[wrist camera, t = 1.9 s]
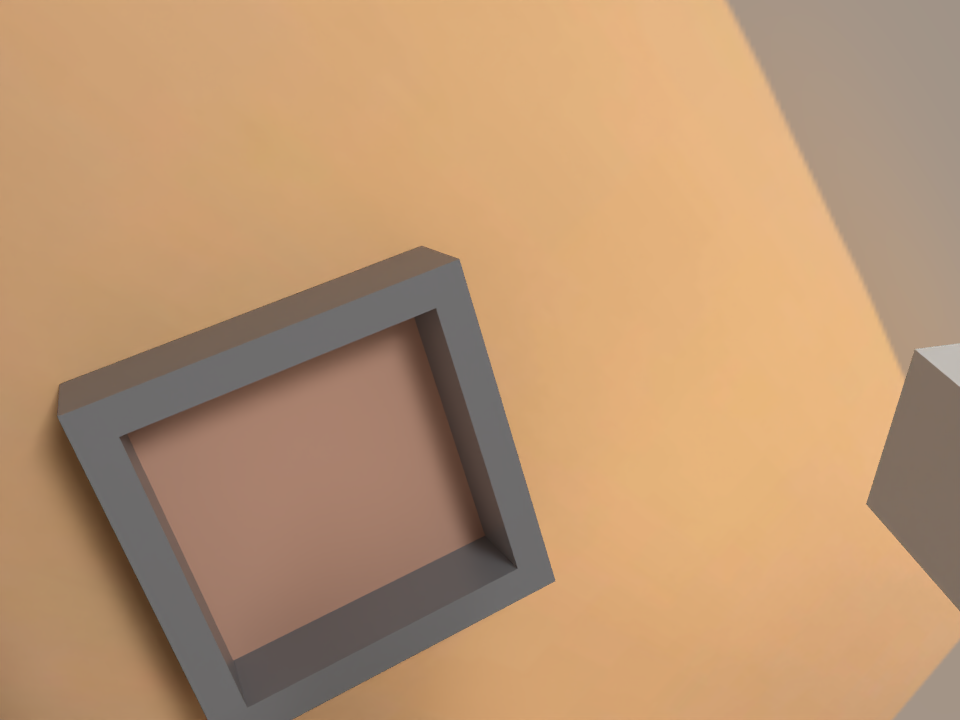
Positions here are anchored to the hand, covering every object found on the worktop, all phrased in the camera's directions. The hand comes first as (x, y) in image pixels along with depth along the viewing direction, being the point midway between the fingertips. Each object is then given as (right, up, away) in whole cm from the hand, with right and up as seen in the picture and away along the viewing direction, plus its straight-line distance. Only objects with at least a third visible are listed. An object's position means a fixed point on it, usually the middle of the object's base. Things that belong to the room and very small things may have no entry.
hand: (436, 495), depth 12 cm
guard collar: (-5, -2, +21) cm, 21 cm away
